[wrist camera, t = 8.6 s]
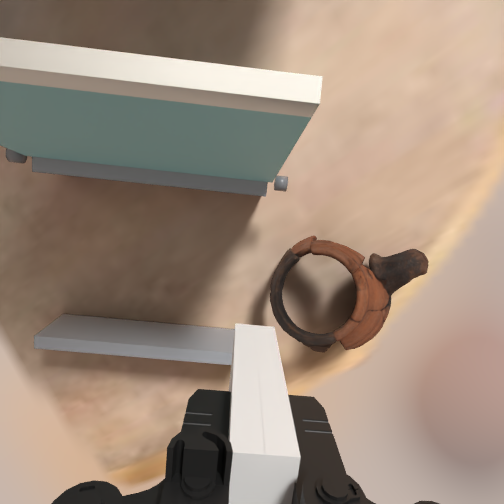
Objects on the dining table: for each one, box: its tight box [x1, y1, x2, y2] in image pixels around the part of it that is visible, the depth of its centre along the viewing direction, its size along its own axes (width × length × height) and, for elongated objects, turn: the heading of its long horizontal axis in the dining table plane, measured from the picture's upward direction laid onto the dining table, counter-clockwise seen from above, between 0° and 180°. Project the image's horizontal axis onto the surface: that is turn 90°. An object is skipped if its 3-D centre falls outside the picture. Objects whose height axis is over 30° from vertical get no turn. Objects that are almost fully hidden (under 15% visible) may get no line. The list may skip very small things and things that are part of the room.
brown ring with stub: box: [270, 236, 428, 352], centre depth 29 cm, size 12×10×8 cm
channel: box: [6, 148, 288, 365], centre depth 28 cm, size 14×19×5 cm
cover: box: [0, 37, 322, 182], centre depth 18 cm, size 14×17×1 cm
